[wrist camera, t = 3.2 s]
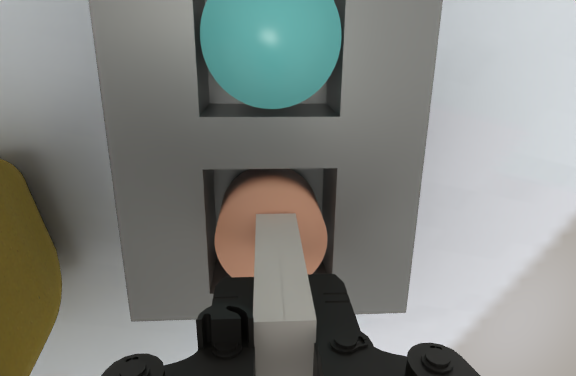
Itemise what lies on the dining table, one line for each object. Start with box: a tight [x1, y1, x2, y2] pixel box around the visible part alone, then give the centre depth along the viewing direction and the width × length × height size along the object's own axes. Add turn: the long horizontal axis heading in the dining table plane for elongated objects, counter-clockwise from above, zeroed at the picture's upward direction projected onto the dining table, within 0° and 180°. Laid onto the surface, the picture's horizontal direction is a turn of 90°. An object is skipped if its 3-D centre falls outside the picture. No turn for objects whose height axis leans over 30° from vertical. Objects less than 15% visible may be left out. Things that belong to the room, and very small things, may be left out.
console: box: [89, 0, 443, 321], centre depth 17 cm, size 12×23×5 cm, turn 179°
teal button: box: [200, 0, 342, 109], centre depth 15 cm, size 4×4×3 cm
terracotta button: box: [215, 169, 327, 277], centre depth 18 cm, size 4×4×3 cm
